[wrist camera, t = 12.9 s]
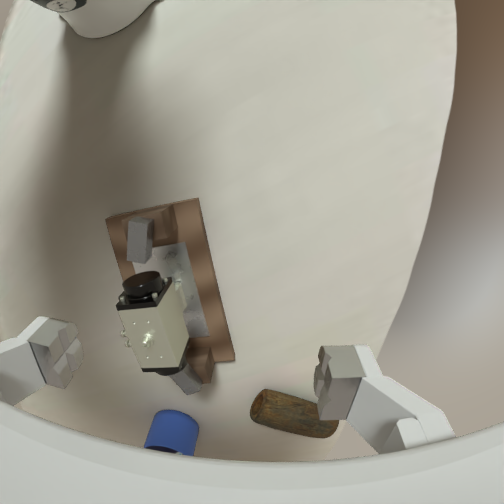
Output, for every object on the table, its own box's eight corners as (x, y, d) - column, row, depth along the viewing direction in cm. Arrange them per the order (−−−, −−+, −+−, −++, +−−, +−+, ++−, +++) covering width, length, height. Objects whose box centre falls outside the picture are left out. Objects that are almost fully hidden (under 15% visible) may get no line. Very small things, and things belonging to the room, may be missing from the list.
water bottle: (160, 402, 51) (121, 516, 27) (206, 421, 52) (185, 537, 28) (148, 426, 53) (113, 526, 30) (190, 443, 55) (168, 545, 31)
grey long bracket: (120, 214, 38) (94, 228, 31) (176, 202, 37) (158, 214, 31) (169, 365, 46) (157, 395, 39) (218, 362, 45) (211, 394, 38)
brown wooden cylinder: (246, 404, 50) (244, 432, 44) (263, 378, 48) (263, 407, 41) (320, 423, 51) (324, 449, 45) (340, 400, 49) (347, 427, 43)
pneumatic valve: (178, 251, 39) (147, 293, 28) (199, 329, 43) (181, 386, 31) (140, 258, 40) (99, 298, 28) (164, 332, 43) (137, 387, 32)
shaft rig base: (110, 216, 40) (87, 228, 34) (198, 197, 39) (186, 206, 33) (157, 359, 47) (146, 385, 41) (234, 354, 46) (231, 381, 40)
